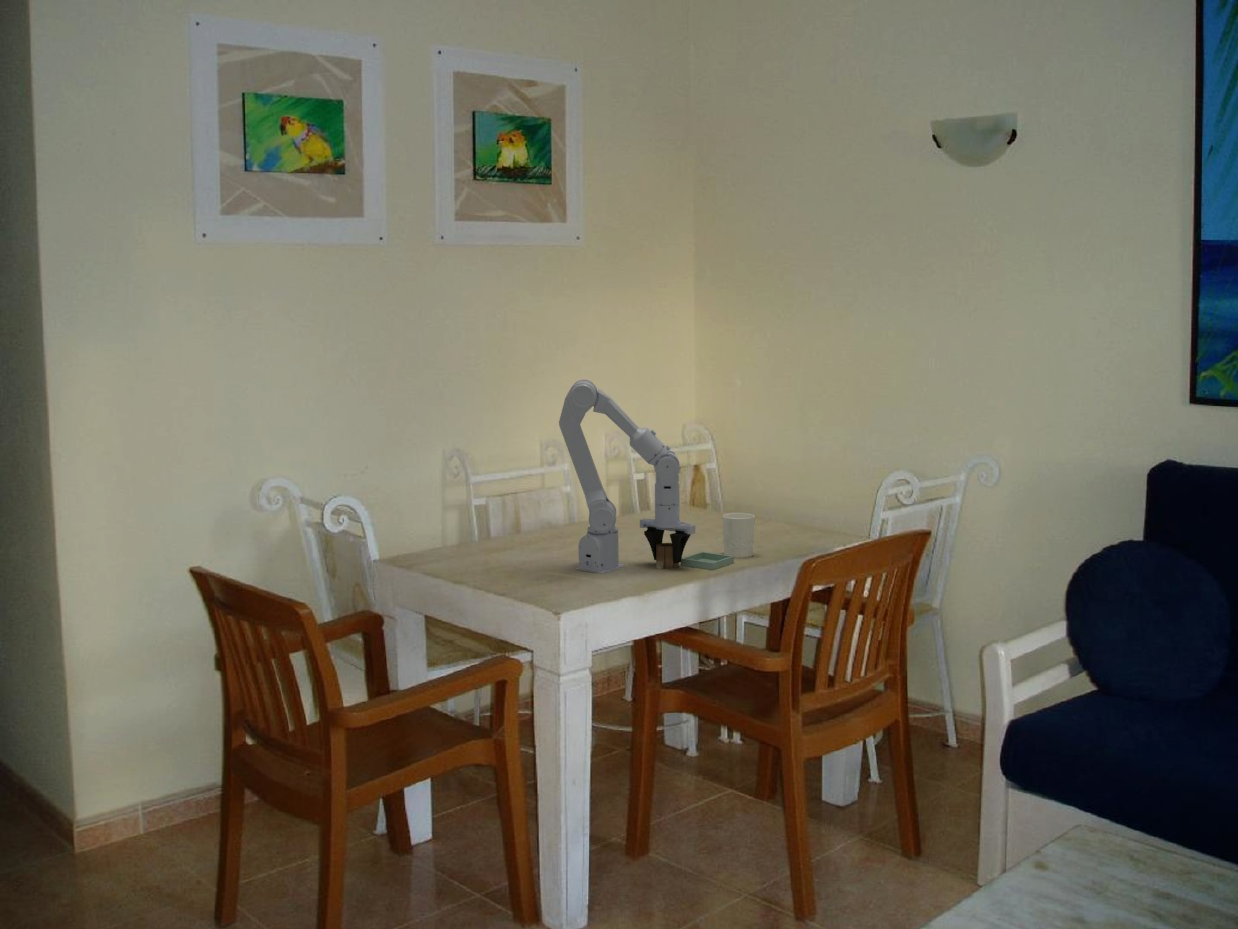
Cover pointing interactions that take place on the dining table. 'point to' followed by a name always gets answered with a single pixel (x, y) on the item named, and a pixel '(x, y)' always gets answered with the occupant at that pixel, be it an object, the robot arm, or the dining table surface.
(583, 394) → the robot arm
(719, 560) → the tray
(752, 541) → the white cup
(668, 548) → the brown hollow octagonal cylinder
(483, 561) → the dining table surface
